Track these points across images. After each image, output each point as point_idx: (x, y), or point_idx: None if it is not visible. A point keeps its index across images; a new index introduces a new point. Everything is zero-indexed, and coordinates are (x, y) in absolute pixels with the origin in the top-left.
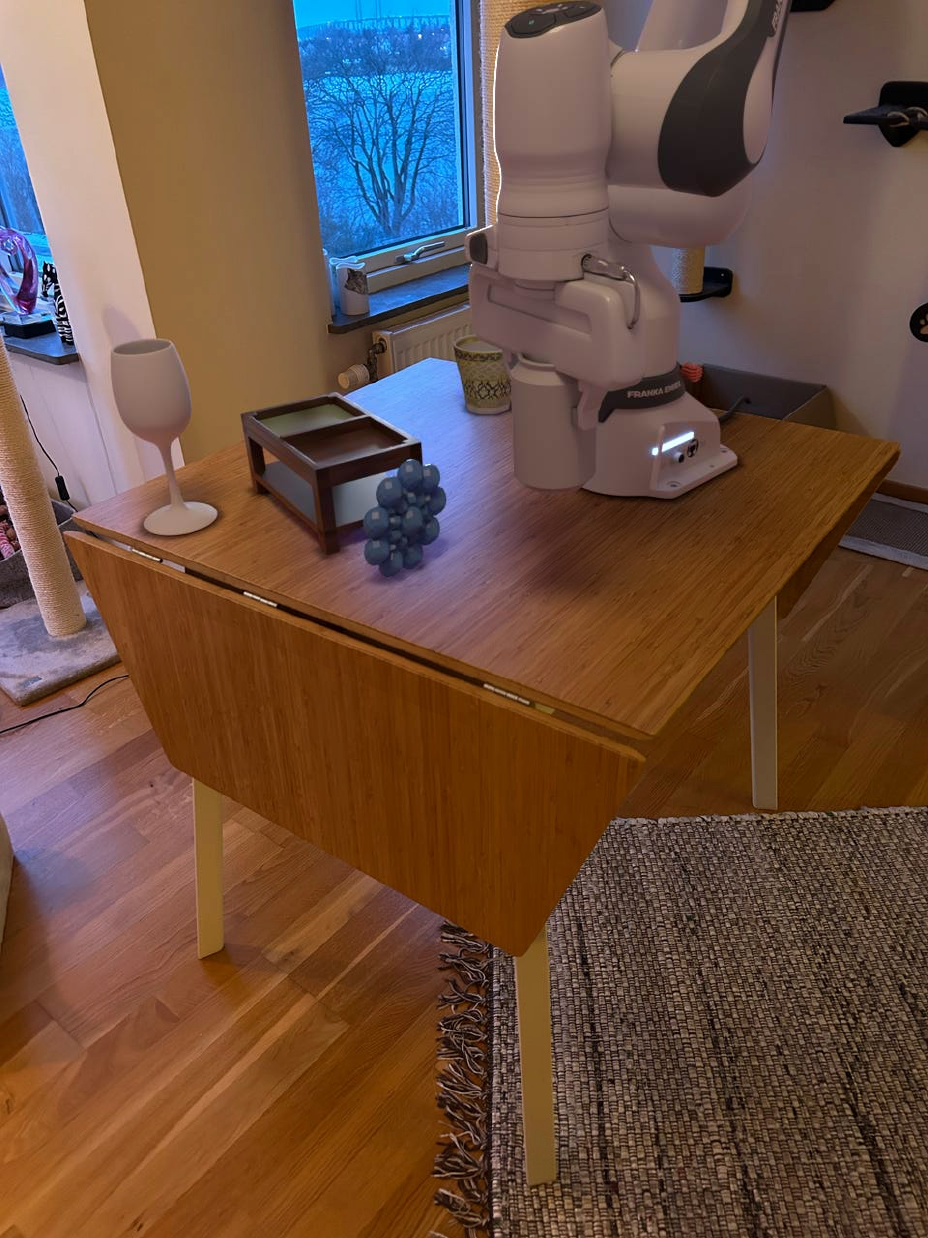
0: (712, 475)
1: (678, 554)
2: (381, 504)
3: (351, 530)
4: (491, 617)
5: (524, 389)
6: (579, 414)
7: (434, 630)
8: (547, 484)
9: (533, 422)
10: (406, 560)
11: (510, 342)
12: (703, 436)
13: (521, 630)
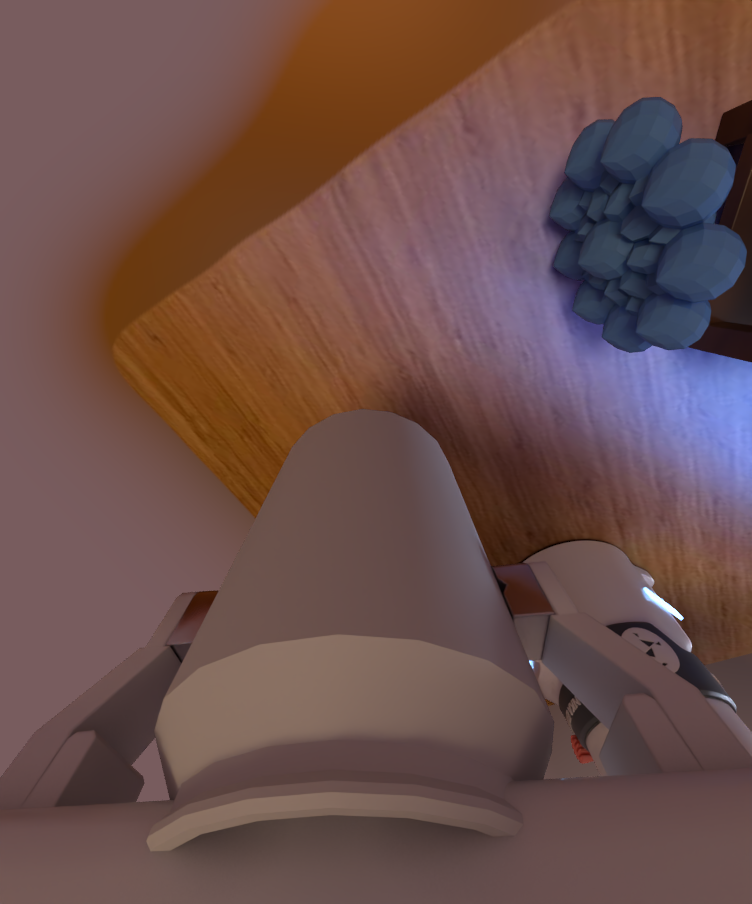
0: None
1: None
2: (665, 153)
3: (734, 175)
4: (376, 302)
5: (281, 606)
6: (165, 631)
7: (385, 203)
8: (296, 444)
9: (278, 516)
10: (568, 238)
11: (664, 894)
12: None
13: (330, 323)
